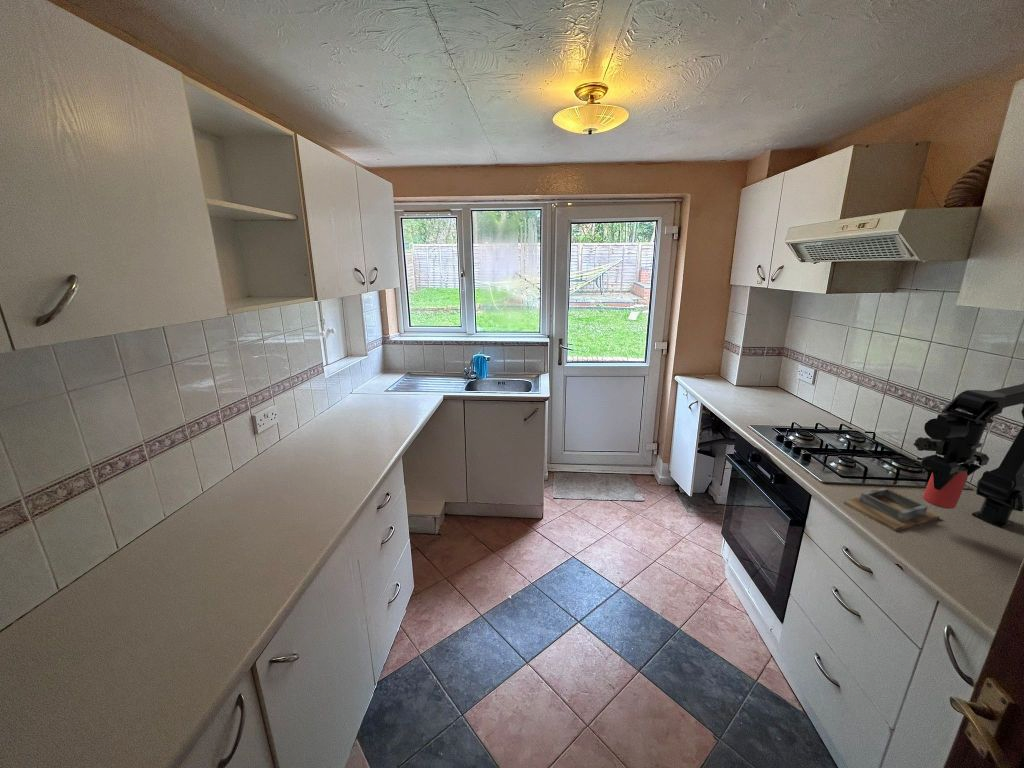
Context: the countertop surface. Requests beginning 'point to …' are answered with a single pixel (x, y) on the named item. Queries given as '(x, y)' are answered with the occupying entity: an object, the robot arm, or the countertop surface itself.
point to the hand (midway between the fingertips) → (944, 487)
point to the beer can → (946, 490)
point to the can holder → (891, 509)
